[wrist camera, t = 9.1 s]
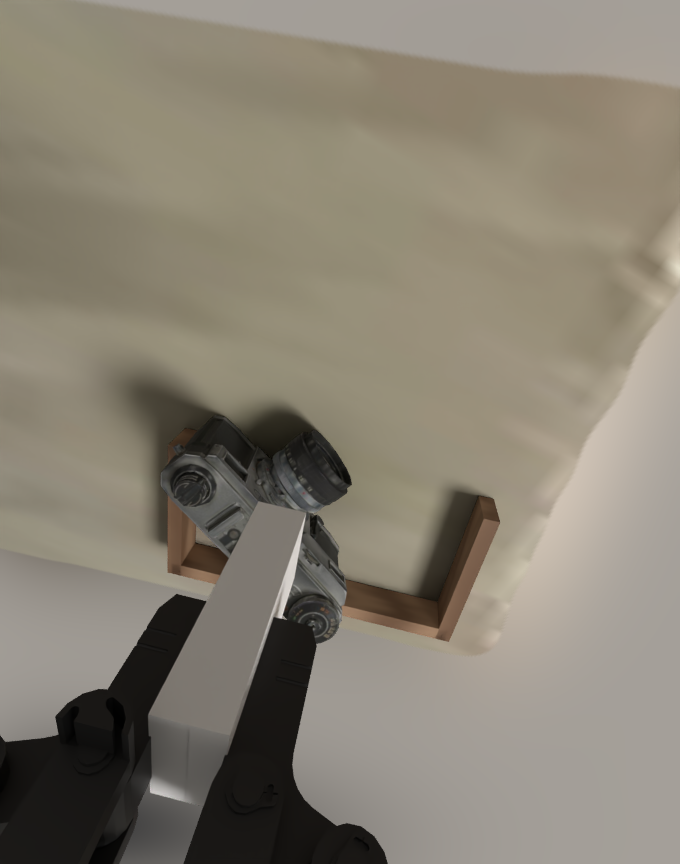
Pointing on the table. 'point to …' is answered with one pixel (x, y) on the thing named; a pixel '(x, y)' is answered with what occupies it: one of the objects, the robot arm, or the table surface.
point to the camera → (273, 484)
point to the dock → (359, 597)
